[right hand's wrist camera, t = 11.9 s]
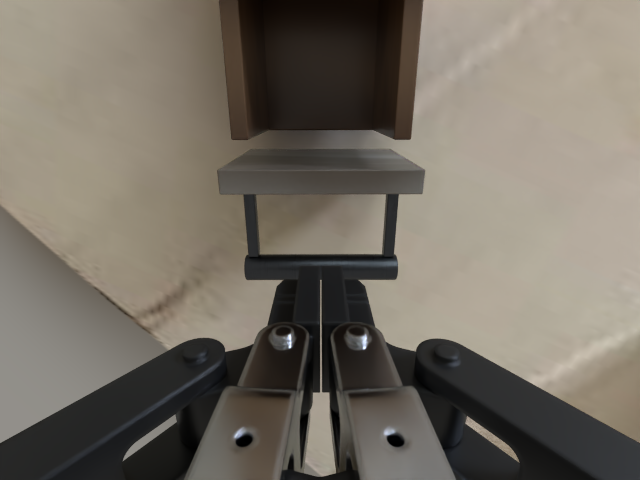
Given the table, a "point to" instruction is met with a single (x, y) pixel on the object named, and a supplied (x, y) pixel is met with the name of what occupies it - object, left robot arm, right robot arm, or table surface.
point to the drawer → (321, 111)
